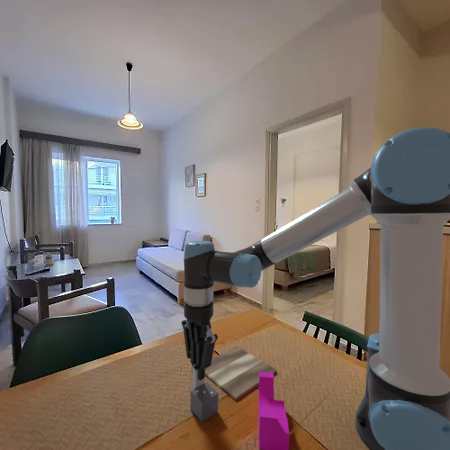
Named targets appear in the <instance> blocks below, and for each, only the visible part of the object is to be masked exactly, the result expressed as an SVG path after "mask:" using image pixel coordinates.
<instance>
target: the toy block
mask: <svg viewBox="0 0 450 450" xmlns="http://www.w3.org/2000/svg"><path fill="white" fill-rule="evenodd" d="M274 375H275V374H273V373H269V372H259V385H258V449H259V450H289V449H290V429H289V421H288V417H287V415H286V408H285V401H284V400H279V399H275V385H274V384H275V383H274V382H275V376H274Z"/></svg>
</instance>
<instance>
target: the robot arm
mask: <svg viewBox="0 0 450 450" xmlns="http://www.w3.org/2000/svg"><path fill="white" fill-rule="evenodd" d="M370 164H371V165H370V167H369V168H368V169H367V170H365V172H362V174H360V175H359V176H357V177H355V178H354V179H353V180H351V181H350V184H349V187H348V188H346V189H344V190H342V191H340V192H339V193H337V194H336V195H334V196H332V197H331V198H329V199H328V200H326V201H324V202H322V203H321V204H319V205H317V206H316V207H314V208H312V209H311V210H308V211H307V212H305V213H304V214H302V215H300V216H299V217H297V218H295V219H293V220H292V221H290V222H288V223H287V224H285V225H284V226H282V227H280V228H279V229H277V230H275V231H274V232H271V233H270V234H269V235H267V236H265V237H264V238H262V239H260V240H258V241H256V242H255V243H253V244H251V245H250V246H247V247H245V248H243V249H239V250H236V251H233V252H230V251H229V252H228V251H220V250H219V251H218V250H215V244H214V243H213V242H212V241H208V240H191V241H188V242H186V243H185V245H184V252H183V265H184V266H183V268H184V271H183V273H184V281H183V283H184V284H183V301H184V303H183V316H184V318H185V319H184V320H182V321H181V326H182V329H183V337H184V344H185V346H184V347H185V351H186V352H185V353H186V358H187V359H188V360H189V359H190V360H189V361H190V363H191V374H192V378H191V379H192V380H191V381H192V383H191V384H192V389H191V390H193V389H195V388H197V387H199V386H200V385H202V384H204V383H205V378H206V376H205V369H206V368H208V367H209V366H211V362H212V358H213V354H214V350H215V346H216V345H215V344H216V342H217V341H218V338H219V336H218V334H216V333H215V334H213V331H212V325H211V320H212V318H213V316H214V302H213V300H214V286H215V285H214V283H220V284H224V285H229V286H235V287H238V288H251V289H252V288H255V287H256V286H257V285H258V283H259V281H260V280H261V276H262V272H263V271H264V270H267V269H268V268H270V267H271V266H274V265H276V264H278V263H280V262H281V261H283V260H285V259H287V258H289V257H291V256H293V255H295V254H296V253H298V252H300V251H303V250H304V249H306V248H308V247H310V246H311V245H314V244H316V243H318V242H320V241H321V240H323V239H325V238H327V237H329V236H331V235H332V234H333V235H334V233H337V232H339V231H340V230H342V229H344V228H347V227H348V226H350V225H351V224H354V223H355V222H358V221H360V220H362V219H364V218H365V217H367V216H371V217H373V218H374V220H375V221H377V222H378V223H379V226H380V238H379V239H380V245H379V248H380V249H379V250H380V251H379V253H380V254H379V258H380V259H379V322H378V323H379V327H378V329H379V332H378V333H373V334H370V335H369V336H368V339H367V340H368V342H367V345H366V347H367V355H366V357H367V358H366V373H365V374H366V375H365V376H366V377H365V393H364V395H363V398H362V399H361V402H360V403H359V406H358V407H357V409H356V412H355V422H354V423H355V425H354V426H355V429H356V432H357V435H358V437H359V438H360V439H361V441H362V442H363V443H364V444H365V446H366V447H368V449H370V450H450V377H449V375H447V373H445V371H443V370H442V369H441V367H440V365H441V364H440V363H441V333H442V332H441V327H442V325H441V324H442V293H443V292H442V289H443V287H442V286H443V256H444V255H443V251H444V250H443V249H444V247H443V246H444V244H443V243H444V226H445V225H446V223H448V221H450V132H448V131H447V130H444V129H441V128H438V127H431V126H430V127H429V126H425V127H424V126H422V127H421V126H420V127H413V128H410V129H406V130H404V131H401V132H399V133H397V134H395V135H393V136H391V138H389V139H387V141H385V142H384V143H383V144H381V146H380V147H379V148H378V149H377V150H376V152H375V154H374V156H373V157H372V162H371V163H370Z"/></svg>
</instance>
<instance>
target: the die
mask: <svg viewBox="0 0 450 450" xmlns="http://www.w3.org/2000/svg"><path fill="white" fill-rule="evenodd" d="M189 407H190V411H191V412H192V413H193V414H194V416H195V417H197V418H198V421H200V422H201V423H203V422H204V421H206V420H207V419H209V418H211V417H212V416H215V414H217V413H219V392H218V391H217V390H215V388H214V387H212V386H211V385H210V383H208V382H207V381H206V382H204V384H202V385H200V386H199V387H197V388H195V389H191V390H190V405H189Z"/></svg>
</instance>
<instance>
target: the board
mask: <svg viewBox="0 0 450 450" xmlns="http://www.w3.org/2000/svg"><path fill="white" fill-rule="evenodd" d="M277 371H278V369H276V368H275V367H273V366H271V365H269V363H266V362H265V361H262V360H261V359H260V358H258V357H256V356H254V355H253V354H251V353H249V351H246V350H245V349H243V348H241V347H239V346H238V345H236V346H234V347H232V348H230V349H228V350H226V351H224V352H222V353H220V354H218V355H216V356H214V357H212V362H211V366H209V367H208V368H206V369H205V377H207V378H208V379H209V380H210V381H211V382H213V383H214V384H215V385H216V386H217V387H219V389H221V390H222V391H223V392H224V393H226V394H227V395H228V397H229V396H230V398H232V399H233V400H234V401H237V400H239V399H240V398H242V397H243V396H245V395H246V394H247V393H249V392H250V391H251V390H253V389H255V388H257V387H259V372H269V373H273V374H274V375H275V374H277V373H278V372H277Z"/></svg>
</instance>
